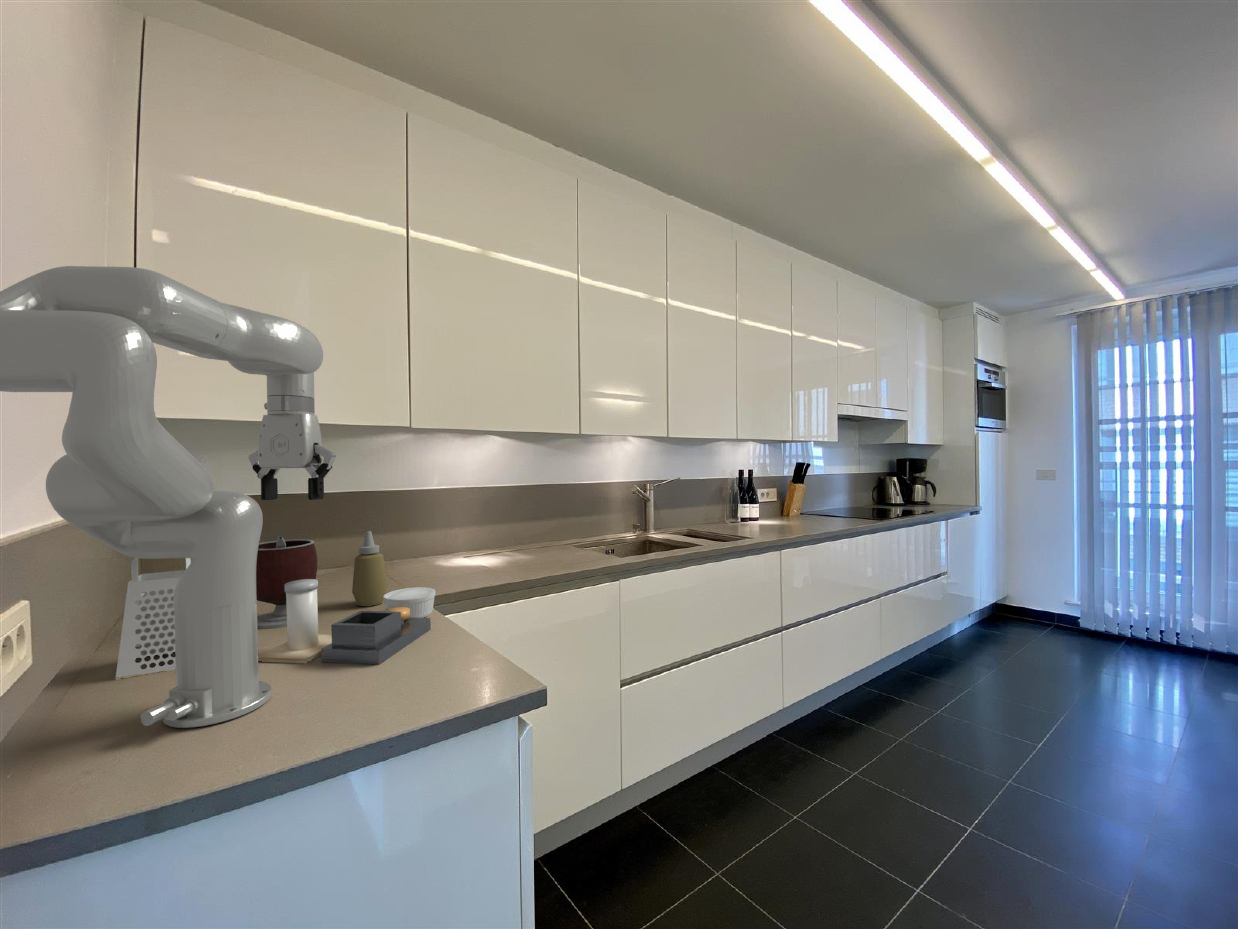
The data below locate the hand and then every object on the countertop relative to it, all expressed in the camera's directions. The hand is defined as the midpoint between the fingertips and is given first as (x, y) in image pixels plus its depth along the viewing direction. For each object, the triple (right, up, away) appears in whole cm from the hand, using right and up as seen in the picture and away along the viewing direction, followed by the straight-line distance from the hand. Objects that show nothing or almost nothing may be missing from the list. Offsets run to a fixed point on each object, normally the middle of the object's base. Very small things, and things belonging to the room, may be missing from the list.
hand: (292, 499), depth 97 cm
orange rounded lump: (+16, -28, +10) cm, 33 cm away
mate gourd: (-14, -29, +20) cm, 38 cm away
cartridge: (+1, -28, +1) cm, 28 cm away
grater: (-21, -29, -4) cm, 36 cm away
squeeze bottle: (-1, -28, +32) cm, 43 cm away
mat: (+1, -29, +1) cm, 29 cm away
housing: (+15, -28, +4) cm, 32 cm away
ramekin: (+13, -28, +22) cm, 38 cm away
